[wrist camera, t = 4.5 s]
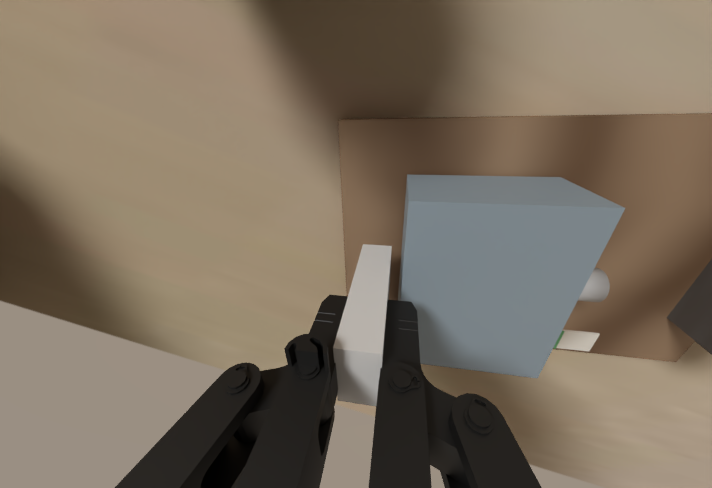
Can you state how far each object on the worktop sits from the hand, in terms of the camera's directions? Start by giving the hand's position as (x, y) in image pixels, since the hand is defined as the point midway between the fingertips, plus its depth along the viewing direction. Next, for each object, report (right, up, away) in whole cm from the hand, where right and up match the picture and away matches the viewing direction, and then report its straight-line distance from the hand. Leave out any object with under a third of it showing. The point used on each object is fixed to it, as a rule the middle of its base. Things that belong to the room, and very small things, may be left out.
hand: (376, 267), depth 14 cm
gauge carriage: (+6, 0, +1) cm, 6 cm away
